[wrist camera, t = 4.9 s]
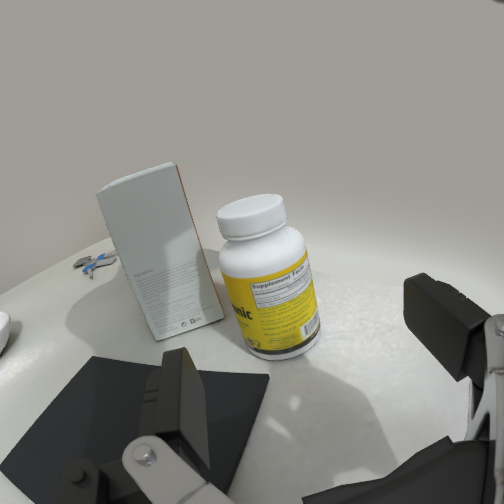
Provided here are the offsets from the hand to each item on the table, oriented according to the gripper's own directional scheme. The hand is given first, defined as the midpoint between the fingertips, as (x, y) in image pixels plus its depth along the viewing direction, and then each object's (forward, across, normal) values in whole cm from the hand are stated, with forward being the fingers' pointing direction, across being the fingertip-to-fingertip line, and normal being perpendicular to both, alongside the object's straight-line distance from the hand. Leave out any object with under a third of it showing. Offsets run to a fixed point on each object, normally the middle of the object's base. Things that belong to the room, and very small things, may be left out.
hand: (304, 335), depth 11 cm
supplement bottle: (+9, 0, +7) cm, 12 cm away
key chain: (+41, +25, +7) cm, 48 cm away
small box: (+17, +8, +7) cm, 20 cm away
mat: (+3, +12, +7) cm, 14 cm away
